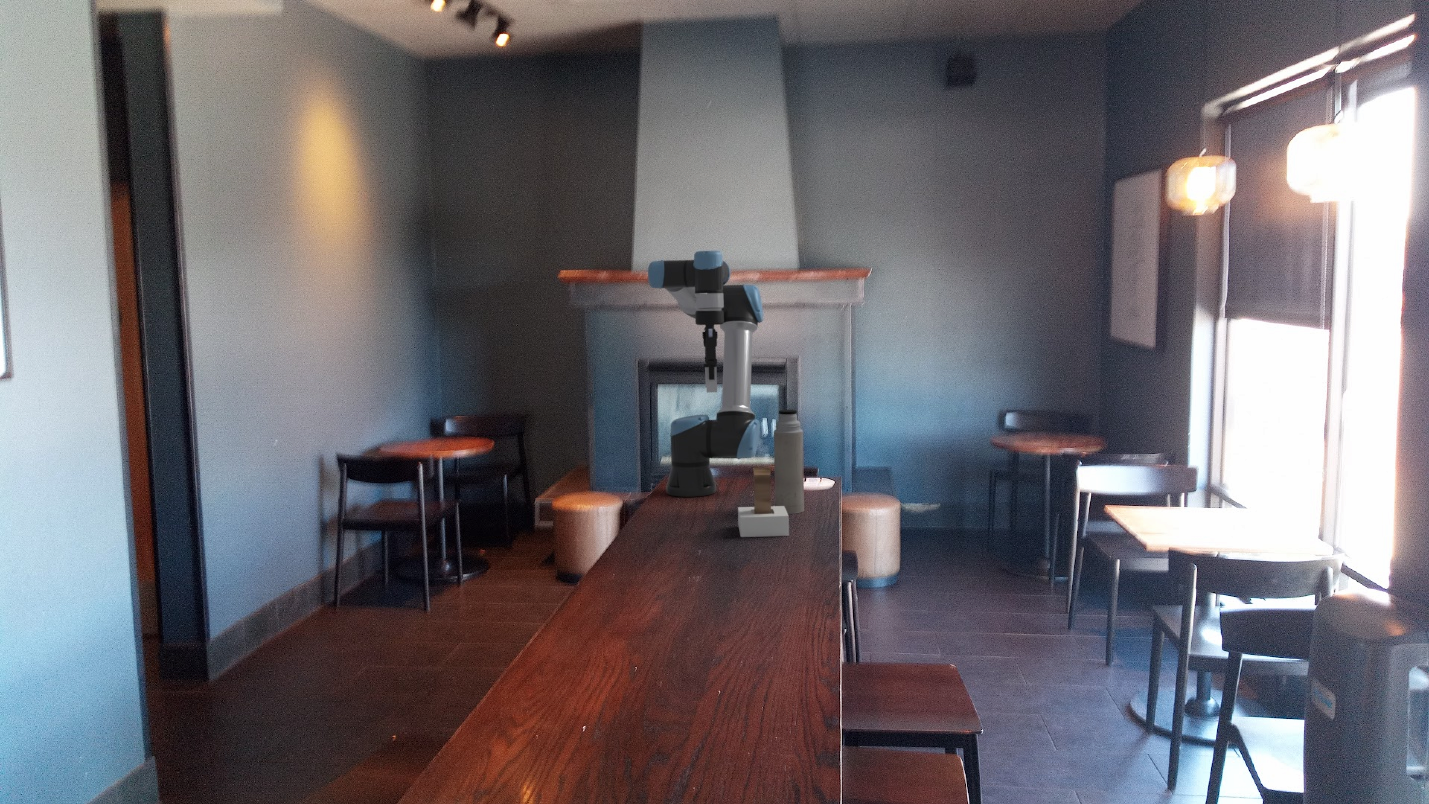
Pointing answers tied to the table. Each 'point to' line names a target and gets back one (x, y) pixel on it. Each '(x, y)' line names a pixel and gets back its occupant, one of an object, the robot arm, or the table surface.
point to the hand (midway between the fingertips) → (711, 389)
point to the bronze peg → (762, 490)
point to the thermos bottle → (789, 462)
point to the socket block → (763, 522)
